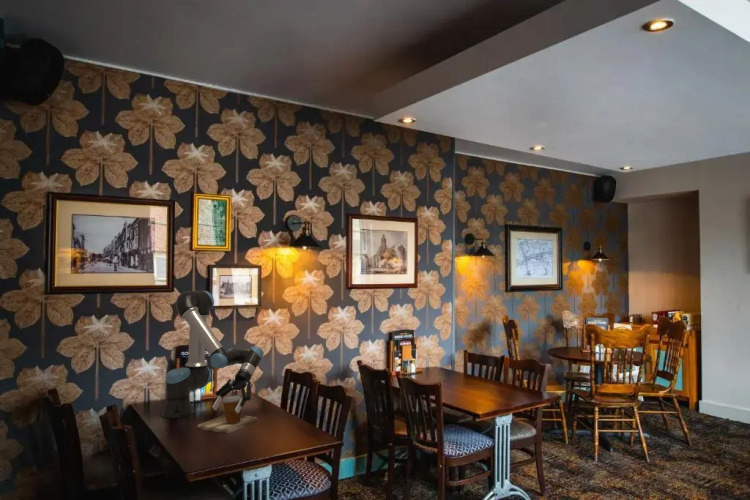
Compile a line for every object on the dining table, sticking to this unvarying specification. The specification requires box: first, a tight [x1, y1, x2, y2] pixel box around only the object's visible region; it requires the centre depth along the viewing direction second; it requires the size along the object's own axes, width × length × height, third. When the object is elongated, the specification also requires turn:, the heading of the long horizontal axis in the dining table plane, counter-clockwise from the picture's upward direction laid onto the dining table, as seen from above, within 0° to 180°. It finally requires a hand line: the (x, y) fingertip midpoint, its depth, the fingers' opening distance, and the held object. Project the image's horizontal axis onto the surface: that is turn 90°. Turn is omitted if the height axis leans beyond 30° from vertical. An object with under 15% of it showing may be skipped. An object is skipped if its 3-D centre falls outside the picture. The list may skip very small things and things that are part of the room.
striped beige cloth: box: [197, 414, 258, 435], centre depth 250 cm, size 18×22×2 cm
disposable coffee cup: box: [221, 394, 243, 423], centre depth 250 cm, size 10×10×12 cm
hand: (225, 410), depth 249 cm, fingers open, 13 cm apart
